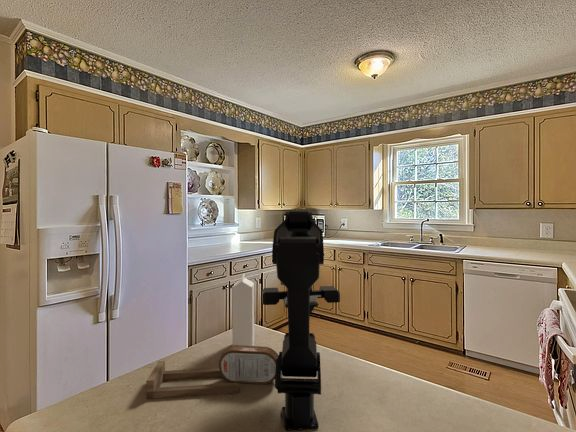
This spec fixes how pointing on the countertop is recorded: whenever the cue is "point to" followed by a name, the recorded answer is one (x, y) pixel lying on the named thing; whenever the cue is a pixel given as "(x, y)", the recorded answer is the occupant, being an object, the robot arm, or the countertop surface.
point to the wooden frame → (177, 391)
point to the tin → (248, 364)
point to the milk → (243, 312)
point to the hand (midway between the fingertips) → (300, 329)
